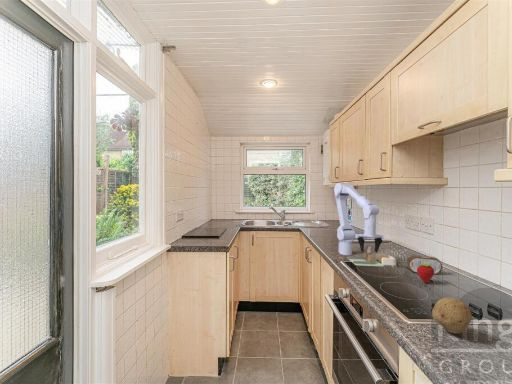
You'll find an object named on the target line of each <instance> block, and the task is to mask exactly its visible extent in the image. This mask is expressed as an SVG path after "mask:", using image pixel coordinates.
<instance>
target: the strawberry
mask: <svg viewBox="0 0 512 384" xmlns="http://www.w3.org/2000/svg"><path fill="white" fill-rule="evenodd" d="M422 264H423V263H422ZM416 274H417V275H418V277H419V278H420V280H421V281H422V282H423V283H424V284H427V283H429V282H430V280H431V279H432V278H433V277H434V269H433V268H432V266H431V265H426V264H423V265H422V266H419V267H418V268H417V273H416Z"/></svg>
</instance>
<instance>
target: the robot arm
mask: <svg viewBox="0 0 512 384" xmlns="http://www.w3.org/2000/svg"><path fill="white" fill-rule="evenodd" d="M333 191H334V192H333V193H334V197H335V203H336V207H337V215H338V220H339V226H338V228H337V229H336V232H337V233H336V237H337V239H338V248H337V249H338V254H340V255H343V256H352V255H353V242H354V240H355V239H357V241H358V244H359V247H360V251H361V252H364V249H365V248H364V246H365V241H366V240H365V239H374V240H373V241H374V252H375V253H378V251H379V248H380V246H381V244H382V243H383V240H384V239H385V235H384V234H377V233H376V232H377V231H376V229H377V228H376V227H377V215H378V214H379V213H380V208H379V206H378V205H377V204H375V203H372V201H370V200H369V199H367V196H364V195H361V194H360V193H359V192H358V191H357V190H356V189H355V186H354V185H353V184H352V183H340V182H337V183H336V184H335V186H334V188H333ZM349 196H351V197H352V198H353V199H354V201H355V203H356V204H357V206H358V207H360V209H361V210H362V213H363V217H364V226H363V227H364V232H363V233H356V232H355V230H354V227H353V225H351V224H350V221H349V215H348V209H347V204H346V199H347V198H348V197H349Z"/></svg>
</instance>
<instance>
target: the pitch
mask: <svg viewBox="0 0 512 384" xmlns="http://www.w3.org/2000/svg"><path fill="white" fill-rule="evenodd" d="M382 257H387V258H382ZM381 258H382V262H379V261H381ZM346 259H348V260H349V261H350V262H351V263H353V264H354V266H363V267H364V266H367V267H368V266H369V267H385V266H397V259H396V258H395V257H394V256H391V255H390V254H387V253H385V254H384V253H383V254H382V253H375V254H374V262H367V261H366V260H365V259H364V256H352V255H347V256H346Z"/></svg>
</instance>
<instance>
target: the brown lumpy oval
mask: <svg viewBox="0 0 512 384" xmlns="http://www.w3.org/2000/svg"><path fill="white" fill-rule="evenodd" d="M472 315H473V314H472V311H471V309H470V308H469V307H468V305H467V304H466V303H465V302H464V301H462V300H460V299H457V298H455V297H443V298H441V299H438V300H437V302H436V303H435V304H434V306H433V308H432V311H431V316H432V318H433V320H434V321H435V322H436V324H438V325H439V326H441V327H442V328H444V329H445V330H446V331H447V332H448V333H450V334H452V333H453V334H452V335H458V334H461V333H463V332H465V331H466V329H467V328H468V327H469V325H470V323H471V321H472Z"/></svg>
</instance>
